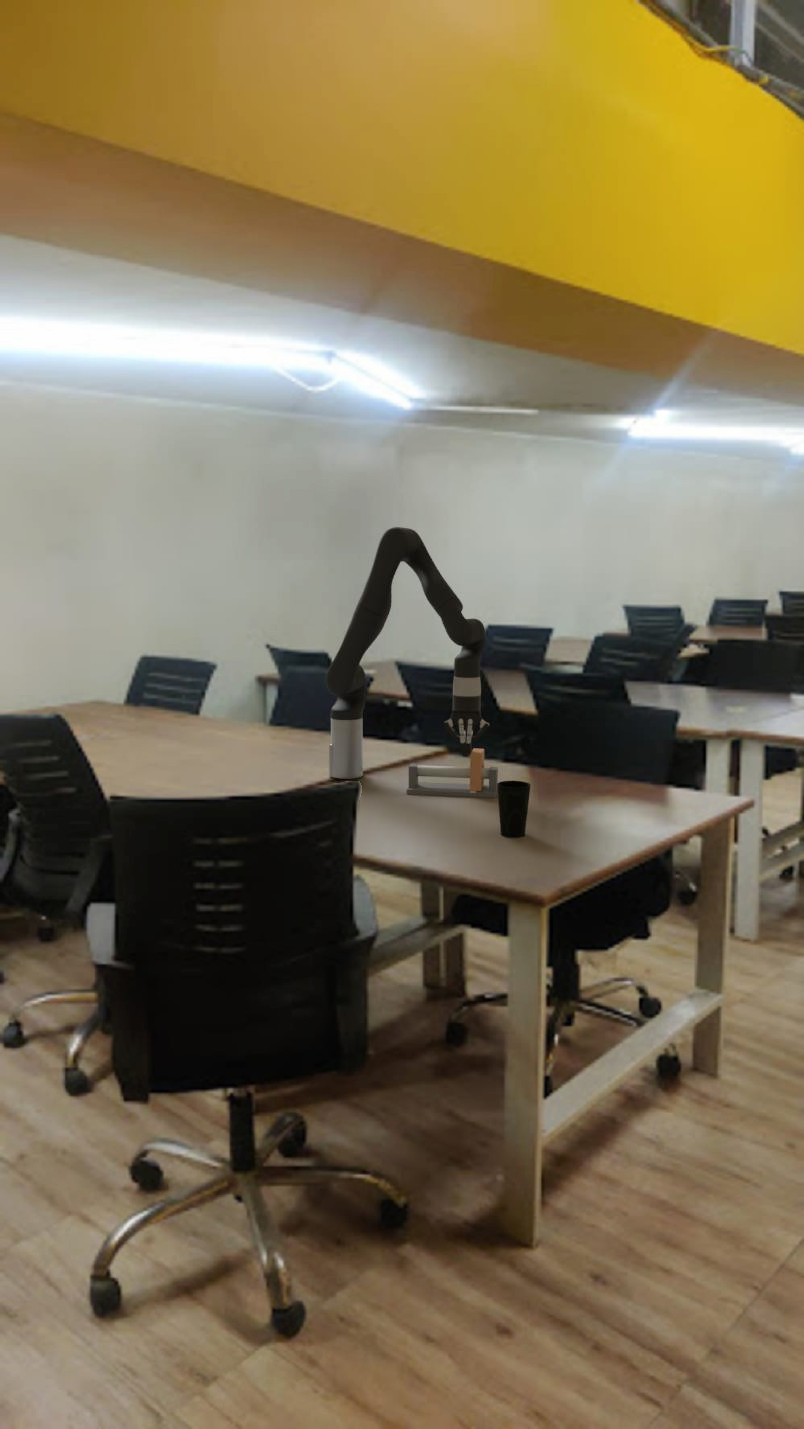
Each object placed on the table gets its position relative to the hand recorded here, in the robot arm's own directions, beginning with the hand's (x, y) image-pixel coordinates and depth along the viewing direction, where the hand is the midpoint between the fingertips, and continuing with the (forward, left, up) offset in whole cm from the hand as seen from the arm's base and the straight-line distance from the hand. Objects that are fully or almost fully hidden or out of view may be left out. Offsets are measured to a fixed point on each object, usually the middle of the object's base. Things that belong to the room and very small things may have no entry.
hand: (465, 756), depth 278 cm
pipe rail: (-3, 0, -10) cm, 11 cm away
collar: (+3, 0, -8) cm, 9 cm away
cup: (+16, -40, -10) cm, 44 cm away
